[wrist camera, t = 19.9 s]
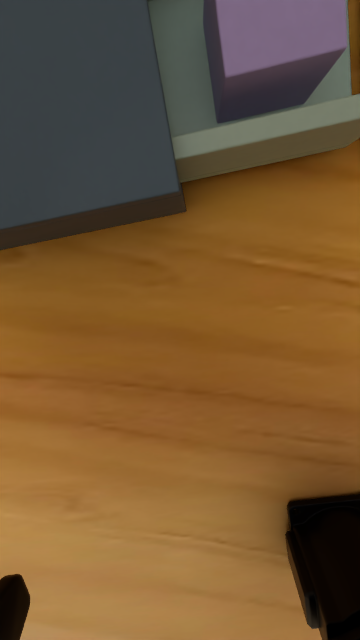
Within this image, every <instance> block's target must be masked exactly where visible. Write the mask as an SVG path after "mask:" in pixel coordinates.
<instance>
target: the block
mask: <svg viewBox="0 0 360 640" xmlns="http://www.w3.org/2000/svg"><path fill="white" fill-rule="evenodd" d="M203 27H204V34H205V41H206V49H207V56H208V63H209V70H210V77H211V84H212V91H213V98H214V106H215V113H216V120H217V123H223V122H227V121H231V120H236V119H240V118H244V117H249V116H253V115H257V114H262V113H266V112H270V111H275V110H279V109H283V108H288V107H292V106H296V105H300V104H304V103H305V102H306V101H307V99H308V98H309V97H310V95H311V94H312V93H313V91H314V90H315V89H316V88H317V86H318V85H319V84H320V82H321V81H322V80H323V78H324V77H325V76H326V74H327V73H328V72H329V71H330V69H331V68H332V67H333V65H334V64H335V63H336V61H337V60H338V59H339V58H340V56H341V55H342V54H343V52H344V51H345V50H346V48H347V45H348V44H347V22H346V0H204V6H203Z"/></svg>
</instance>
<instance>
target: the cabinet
mask: <svg viewBox="0 0 360 640" xmlns="http://www.w3.org/2000/svg"><path fill="white" fill-rule="evenodd" d="M183 212H186V206H185V200H184V195H183V189H182V183H180V180H179V177H178V172H177V167H176V161H175V155H174V150H173V144H172V138H171V132H170V127H169V121H168V115H167V110H166V104H165V98H164V92H163V87H162V81H161V75H160V70H159V64H158V58H157V52H156V47H155V41H154V35H153V30H152V24H151V18H150V12H149V7H148V1H147V0H0V250H3V249H8V248H13V247H18V246H23V245H28V244H32V243H37V242H42V241H47V240H52V239H57V238H62V237H66V236H71V235H76V234H81V233H86V232H91V231H96V230H100V229H105V228H110V227H115V226H120V225H125V224H130V223H134V222H139V221H144V220H149V219H154V218H159V217H164V216H168V215H173V214H178V213H183Z"/></svg>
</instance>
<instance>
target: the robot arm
mask: <svg viewBox="0 0 360 640" xmlns="http://www.w3.org/2000/svg"><path fill="white" fill-rule="evenodd" d="M294 509H296V510H294ZM287 511H288V519H289V526H290V530H288V531H287V532H286V534H285V536H286V544H287V552H288V559H289V563H290V566H291V570H292V573H293V577H294V580H295V583H296V587H297V590H298V594H299V597H300V600H301V604H302V607H303V611H304V614H305V618H306V621H307V624H308V625H309V626H310V627H311V628H312V629H315V628H319V631H320V634H321V637H322V640H360V494H358V495H348V496H339V497H330V498H320V499H311V500H301V501H293V502H290V503H289V504H288V505H287ZM29 606H30V594H29V592H28V589H27V587H26V585H25V582H24V580H23V577H22V576H21V575H20V574H14V575H7V576H4V577H3V578H2V579H1V580H0V640H20V637H21V633H22V630H23V627H24V623H25V620H26V617H27V613H28V610H29Z"/></svg>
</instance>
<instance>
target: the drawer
mask: <svg viewBox="0 0 360 640" xmlns="http://www.w3.org/2000/svg"><path fill="white" fill-rule="evenodd" d="M147 1H148V7H149V12H150V18H151V24H152V30H153V35H154V41H155V47H156V52H157V58H158V64H159V70H160V75H161V81H162V87H163V92H164V98H165V104H166V110H167V115H168V121H169V127H170V132H171V138H172V144H173V150H174V155H175V161H176V167H177V172H178V177H179V180H180V183H182V182H187V181H192V180H196V179H201V178H205V177H210V176H215V175H219V174H224V173H229V172H233V171H238V170H242V169H247V168H252V167H256V166H261V165H266V164H270V163H275V162H279V161H284V160H289V159H293V158H298V157H303V156H307V155H312V154H317V153H321V152H326V151H330V150H335V149H340V148H344V147H346V146H348V145H349V144H351V143H353V142H354V141H356V140H357V139H359V138H360V94H356V95H352V90H351V67H350V45H349V22H348V0H346V22H347V44H348V45H347V48H346V50H345V51H344V52H343V54H342V55H341V56H340V58H339V59H338V60H337V61H336V63H335V64H334V65H333V67H332V68H331V69H330V71H329V72H328V73H327V74H326V76H325V77H324V78H323V80H322V81H321V82H320V84H319V85H318V86H317V88H316V89H315V90H314V91H313V93H312V94H311V95H310V97H309V98H308V99H307V101H306V102H305V103H304V104H300V105H296V106H292V107H288V108H283V109H279V110H275V111H270V112H266V113H262V114H257V115H253V116H249V117H244V118H240V119H236V120H231V121H227V122H223V123H217V120H216V113H215V106H214V98H213V91H212V84H211V77H210V70H209V63H208V56H207V49H206V41H205V34H204V27H203V6H204V0H147Z"/></svg>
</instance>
